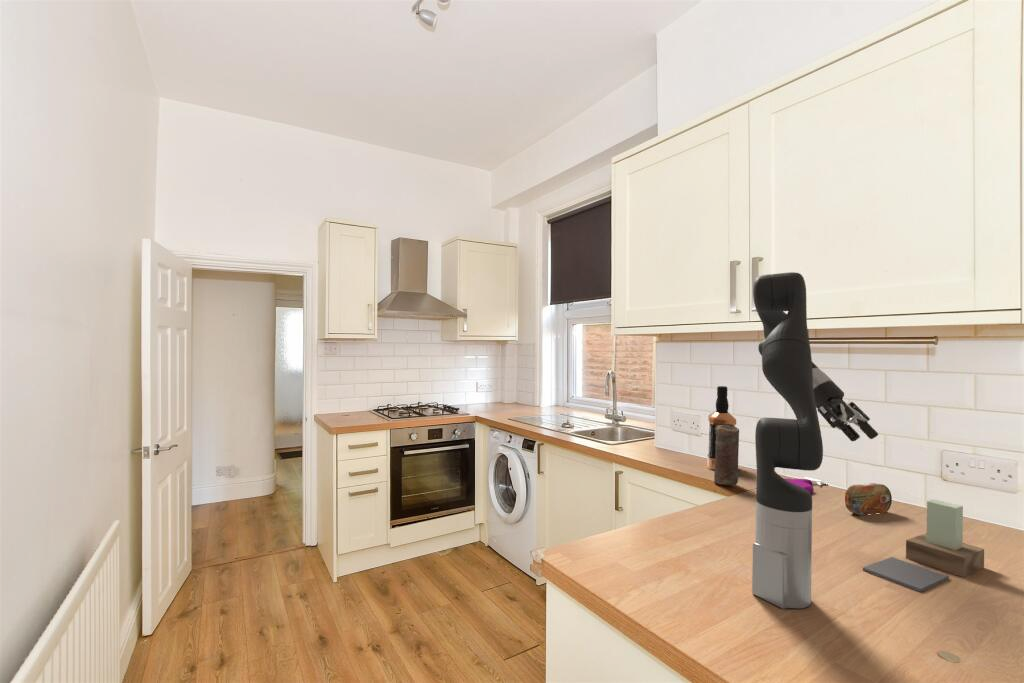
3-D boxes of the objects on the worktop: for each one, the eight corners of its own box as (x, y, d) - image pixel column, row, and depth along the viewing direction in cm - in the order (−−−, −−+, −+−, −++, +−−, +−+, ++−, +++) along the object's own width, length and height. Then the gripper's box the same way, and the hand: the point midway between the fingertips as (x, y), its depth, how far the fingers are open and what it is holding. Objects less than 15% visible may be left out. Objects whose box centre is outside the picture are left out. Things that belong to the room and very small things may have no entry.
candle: (737, 483, 166) (738, 425, 167) (739, 488, 160) (740, 428, 160) (713, 480, 169) (714, 424, 169) (714, 486, 162) (715, 427, 162)
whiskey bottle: (706, 463, 195) (707, 384, 195) (733, 465, 192) (734, 385, 192) (708, 469, 185) (709, 386, 185) (736, 472, 182) (737, 387, 182)
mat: (920, 592, 92) (920, 589, 92) (862, 570, 101) (862, 567, 101) (948, 579, 98) (948, 576, 98) (891, 559, 107) (891, 556, 107)
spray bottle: (764, 490, 159) (799, 481, 174) (799, 499, 150) (833, 488, 165) (765, 481, 159) (799, 473, 174) (800, 490, 151) (833, 480, 165)
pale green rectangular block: (955, 550, 103) (955, 508, 103) (926, 541, 107) (927, 501, 107) (962, 547, 104) (962, 505, 105) (934, 538, 109) (934, 499, 109)
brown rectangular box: (963, 577, 99) (963, 557, 99) (905, 557, 108) (906, 540, 108) (984, 567, 104) (984, 548, 104) (927, 549, 113) (927, 532, 113)
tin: (852, 517, 134) (853, 487, 134) (842, 513, 137) (842, 484, 137) (892, 513, 138) (893, 484, 138) (881, 509, 141) (882, 481, 141)
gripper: (813, 379, 124) (862, 431, 114) (844, 379, 131) (892, 427, 121) (793, 398, 129) (838, 449, 119) (823, 396, 136) (869, 444, 126)
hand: (865, 438), depth 120 cm, fingers open, 8 cm apart
